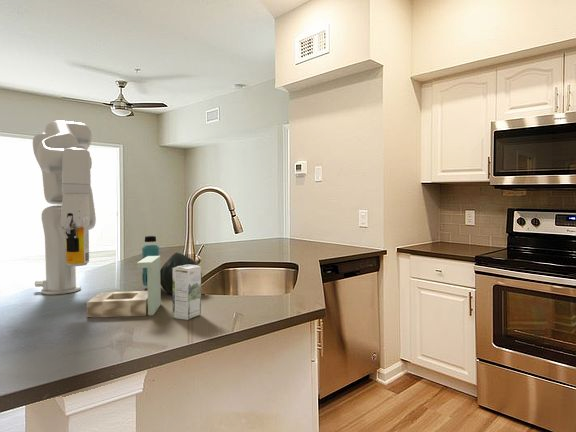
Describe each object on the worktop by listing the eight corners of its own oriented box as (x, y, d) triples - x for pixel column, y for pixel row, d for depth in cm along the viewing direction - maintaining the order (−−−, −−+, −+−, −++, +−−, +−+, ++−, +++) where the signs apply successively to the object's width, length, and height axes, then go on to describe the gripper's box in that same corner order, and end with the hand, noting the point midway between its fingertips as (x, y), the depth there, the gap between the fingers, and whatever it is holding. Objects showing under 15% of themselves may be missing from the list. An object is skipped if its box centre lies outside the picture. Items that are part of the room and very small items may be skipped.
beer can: (72, 262, 121) (71, 214, 120) (92, 262, 121) (91, 214, 120) (62, 266, 115) (61, 215, 114) (83, 266, 115) (83, 216, 114)
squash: (201, 281, 134) (200, 245, 143) (155, 285, 131) (157, 248, 140) (203, 301, 145) (201, 266, 154) (160, 305, 142) (162, 269, 151)
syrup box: (185, 312, 115) (185, 263, 115) (201, 315, 113) (201, 265, 112) (172, 318, 110) (171, 266, 109) (188, 320, 107) (188, 268, 107)
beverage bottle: (163, 286, 151) (162, 235, 151) (155, 290, 145) (154, 236, 144) (147, 286, 152) (146, 235, 151) (138, 290, 145) (138, 236, 145)
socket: (87, 317, 110) (86, 302, 110) (101, 306, 122) (101, 292, 122) (145, 315, 113) (145, 299, 112) (154, 304, 125) (154, 290, 124)
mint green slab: (137, 316, 111) (136, 262, 111) (148, 304, 125) (147, 256, 125) (152, 316, 112) (151, 262, 111) (161, 303, 126) (160, 255, 125)
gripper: (74, 190, 125) (75, 246, 126) (49, 190, 108) (50, 254, 109) (99, 190, 126) (100, 246, 127) (78, 190, 109) (79, 254, 110)
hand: (77, 249), depth 118 cm, fingers closed on beer can, 6 cm apart
